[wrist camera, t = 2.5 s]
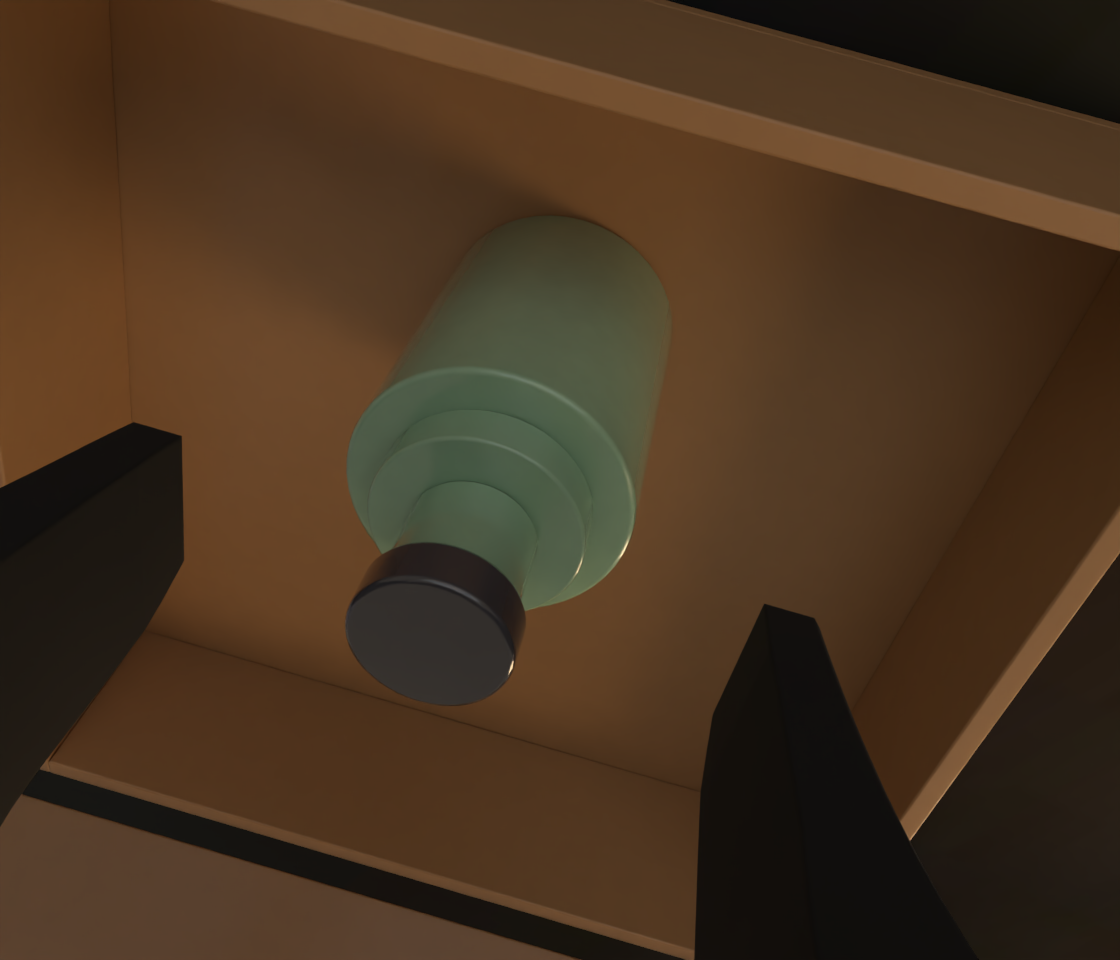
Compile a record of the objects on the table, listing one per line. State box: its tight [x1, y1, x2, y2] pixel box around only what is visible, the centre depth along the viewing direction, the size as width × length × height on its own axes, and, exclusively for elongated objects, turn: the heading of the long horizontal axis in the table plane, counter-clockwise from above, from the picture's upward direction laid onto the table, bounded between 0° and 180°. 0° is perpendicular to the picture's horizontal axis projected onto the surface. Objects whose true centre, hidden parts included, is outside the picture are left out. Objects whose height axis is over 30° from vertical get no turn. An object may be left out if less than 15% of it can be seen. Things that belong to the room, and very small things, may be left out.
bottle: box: [345, 215, 673, 706], centre depth 15 cm, size 4×4×8 cm
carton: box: [0, 0, 1120, 960], centre depth 18 cm, size 17×17×4 cm
